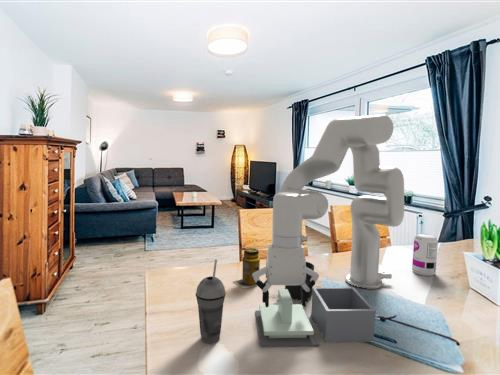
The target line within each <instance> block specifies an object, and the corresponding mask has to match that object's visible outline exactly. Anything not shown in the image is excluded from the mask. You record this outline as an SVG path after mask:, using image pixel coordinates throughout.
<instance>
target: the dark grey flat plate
mask: <svg viewBox="0 0 500 375" xmlns="http://www.w3.org/2000/svg"><path fill="white" fill-rule="evenodd" d="M255 318H256V324H257V332H258V338H259V344H260V348H284V347H286V348H291V347H292V348H295V347H296V348H297V347H298V348H299V347H303V348H304V347H320V343H319V341H318V339H317V337H316V334H315V333H314V335H306V338H269V335H268V336H264V331H263V325H262V320H261V314H260V310H255Z"/></svg>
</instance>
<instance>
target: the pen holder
mask: <svg viewBox="0 0 500 375" xmlns="http://www.w3.org/2000/svg"><path fill="white" fill-rule="evenodd" d="M306 267H307V268H309V269H311V270H313V271H315V265H314V264H313V263H311V262H310V261H306ZM311 277H312V276H311V275H309V274H307V273H306V283H307V282H308V281H309V280H310V279H311ZM301 288H302V286H301V285H284V289H288V291H289V294H290V296H291V299H292V300H294V301H301ZM311 298H312V288H311V289H310V291H309V292H308V300H310V299H311Z"/></svg>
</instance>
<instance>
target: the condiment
mask: <svg viewBox="0 0 500 375" xmlns="http://www.w3.org/2000/svg"><path fill="white" fill-rule="evenodd" d="M259 253H260V252H259V249H257V248H253V247H252V248H250V247H249V248H245V249H244V250H243V257H242V276H241V277H242V279H239V280H237V279H236V280H233V281H232V282H233V283H235V284H236V285H237V286H238V287H240V288H242V289H244V290H245V289H250V288H253V287H258V286H257V284H256V282H255V280H254V278H253V275H252V274H253V273H254V272H256V271H258V270H260V269H261V268H260V266H261V265H260V264H261V259H260V254H259Z"/></svg>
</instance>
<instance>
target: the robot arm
mask: <svg viewBox="0 0 500 375" xmlns="http://www.w3.org/2000/svg"><path fill="white" fill-rule="evenodd" d="M393 133H394V123H393V120H392V119H391V118H390V117H389V116H388V115H387V114H375V115H361V116H360V115H359V116H348V117H340V118H335V119H333V120H331V121H330V122H329V123H328V124H327V126H326V127H325V130H324V132H323V133H322V136H321V137H320V139H319V141H318V144H317V146H316V147H315V150H314V151H313V154H312V155H311V156H310V157H309V158H307V159H305V160H304V161H303V162H301V163H300V164H299V165H297V166H296V167H295V168H294V169H292V171H290V173H289V174H288V175H287V176H286V178H285V179H284V181H283V182H282V184H281V187H280V189H279V192H277V193H275V194H274V196H273V199H272V200H273V201H272V230H271V231H272V234H271V235H272V238H271V239H272V240H271V243H269V244H268V247H267V252H266V262H265V266H264V267H262V268H259V270H258V271H256V272H254V273H253V274H252V275H253V278H254V280H255V282H256V284H257V286H256V287H258V288H259V289H260V290H261V291H262V297H261V298H262V303H264V305H265V306H266V307H269V305H270V303H269V302H270V292H269V290H270V288H271V287H272V286H285V285H301V286H302V288H301V300H300V304H301V305H302V307H303V308H306V306H307V303H308V300H309V299H308V292H309V291H310V289H311V288H312V287H314V286H315V285H316V282H318V279H319V277H320V274H319V273H318V272H316V271H315V270H314V271H313V270H311V269H309V268H307V267H306V262H307V261H306V253H305V247H304V245H303V243H305V242H308V236H305V235H303V221H304V220H311V221H312V220H319V219H321V218H322V217H324V216H325V215H326V214H327V212H328V210H329V202H328V201H329V200H328V199H327V197H326V195H324V194H323V193H321V192H319V191H317V190H316V191H315V190H308V189H303V188H304V187H305V186H307V185H308V184H309V183H311V182H313V181H315V180H318V179H321V178H323V177H328V176H329V175H332V174H334V173H336V172H338V171H339V169H340V168H341V166H342V163H343V161H344V159H345V157H346V155H347V152H348V151H349V149H350V150H351V153H352V160H353V161H352V163H353V164H352V165H353V184H354V188H355V189H356V191H358V192H360V193H366V194H373V195H359V196H355V197H353V199H352V201H351V203H350V215H351V222H352V223H351V226H352V228H351V229H352V230H351V232H352V233H351V248H350V250H351V253H350V254H351V255H350V271H349V273H348V274H347V275H346V276H345V282H346V283H348V284H349V285H350V284H351V286H353V285H354V286H353V287H355V286H358V287H357V288H359V287H362V288H361V289H364V288H367V290H374V289H380V288H381V287H383V280H384V279H385V280H387V279H388V280H389V279H392V278H393V275H392V273H391V272H385V271H383V270H381V271H380V270H379V269H380V268H379V266H380V249H381V233H380V231H379V229H378V227H377V225H379V226H384V227H385V226H386V227H391V228H393V227H399V226H400V225H401V223H402V222H403V220H404V216H405V178H404V174H403V172H402V170H401V169H399V168H398V167H396V166H389V165H388V166H387V165H386V166H385V165H384V166H383V165H381V163H380V162H381V161H380V150H379V148H378V146H377V145H381V144H384V143H387V142H388V141H390V139H391V138H392V136H393ZM374 194H375V195H383V196H381V197H380V196H374ZM306 273H307V274H309V275H311V276H312V277H311V279H310V280H309V281H308V282H307V283H306ZM264 275H265V280H264V282H263V281H262V280H261V279H260V277H262V276H264Z"/></svg>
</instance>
